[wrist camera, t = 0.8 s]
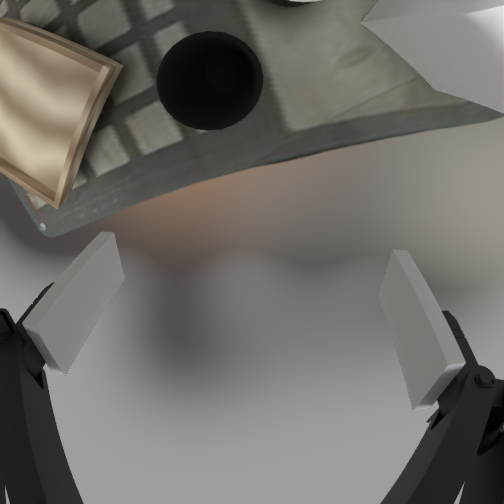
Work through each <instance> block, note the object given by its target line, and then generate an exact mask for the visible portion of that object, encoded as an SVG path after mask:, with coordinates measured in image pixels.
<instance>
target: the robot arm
mask: <svg viewBox="0 0 504 504" xmlns="http://www.w3.org/2000/svg"><path fill="white" fill-rule="evenodd" d="M124 279H125V278H124V274H123V270H122V266H121V262H120V258H119V254H118V249H117V245H116V240H115V236H114V233H113V232H101V233H100V234H99V235H98V236H97V237H96V238H95V239H94V240H93V241H92V242H91V243H90V244H89V245H88V246H87V247H86V248H85V249H84V250H83V251H82V252H81V253H80V255H79V256H78V257H77V258H76V259H75V260H74V261H73V262H72V263H71V264H70V266H69V267H68V268H67V269H66V270H65V271H64V272H63V273H62V275H61V276H60V277H59V278H58V279H57V280H56V281H55V282H53V283H51V284H50V285H49V286H47V287H46V288H44V290H43V291H42V292H41V293H40V294H39V296H38V298H36V299H35V300H34V302H33V304H31V305H30V307H29V308H28V309H27V310H26V312H25V313H24V314H23V315H22V317H21V318H20V319H19V321H18V322H17V323H16V324H15V323H14V321H13V319H12V317H11V316H10V314H9V312H8V311H7V310H6V309H3V308H1V309H0V504H6V497H5V487H6V490H7V494H8V498H9V501H10V504H84V503H83V501H82V499H81V496H80V494H79V492H78V489H77V487H76V484H75V482H74V479H73V476H72V473H71V471H70V468H69V465H68V462H67V459H66V456H65V453H64V450H63V447H62V443H61V440H60V436H59V433H58V429H57V425H56V421H55V417H54V413H53V409H52V405H51V400H50V395H49V390H48V384H47V379H46V374H45V371H44V369H43V366H44V365H45V363H46V364H47V365H48V366H49V368H50V369H51V371H52V372H54V373H57V374H60V375H63V376H66V374H67V372H68V371H69V369H70V367H71V365H72V363H73V362H74V360H75V358H76V356H77V355H78V353H79V351H80V349H81V348H82V346H83V344H84V342H85V341H86V339H87V337H88V336H89V334H90V332H91V331H92V329H93V327H94V326H95V324H96V322H97V321H98V319H99V317H100V316H101V314H102V313H103V311H104V309H105V308H106V306H107V305H108V303H109V302H110V300H111V298H112V297H113V295H114V294H115V292H116V291H117V289H118V288H119V286H120V285H121V283H122V281H123V280H124ZM378 297H379V300H380V303H381V305H382V308H383V311H384V314H385V317H386V320H387V323H388V326H389V329H390V332H391V335H392V338H393V342H394V345H395V348H396V351H397V354H398V358H399V361H400V364H401V368H402V372H403V375H404V379H405V382H406V386H407V390H408V394H409V397H410V401H411V405H412V410H413V411H415V410H422V409H428V408H430V407H431V406H432V405H433V404H434V403H435V401H436V400H437V401H438V404H439V408H438V409H437V410H436V411H435V413H434V414H433V415H432V416H431V417H430V418H429V419H428V421H427V422H428V423H429V422H430V421H431V422H430V424H429V426H428V428H427V430H426V432H425V434H424V436H423V438H422V439H421V441H420V443H419V445H418V447H417V449H416V450H415V452H414V454H413V455H412V457H411V459H410V460H409V462H408V464H407V465H406V467H405V469H404V470H403V472H402V473H401V475H400V476H399V478H398V479H397V481H396V482H395V484H394V485H393V487H392V488H391V490H390V491H389V492H388V494H387V495H386V497H385V498H384V499H383V501H382V502H381V503H380V504H454V502H455V500H456V498H457V496H458V494H459V492H460V490H461V488H462V486H463V484H464V487H463V491H462V495H461V499H460V502H459V504H504V428H503V425H504V380H500V379H495V376H494V375H493V373H492V372H491V371H490V370H489V369H488V368H486V367H484V366H481V365H478V363H477V361H476V359H475V356H474V354H473V352H472V350H471V348H470V346H469V344H468V342H467V340H466V338H465V336H464V334H463V332H462V330H461V328H460V326H459V324H458V322H457V320H456V319H455V318H454V317H453V316H452V314H451V313H449V311H441V309H440V307H439V306H438V303H437V302H436V300H435V298H434V296H433V294H432V293H431V291H430V289H429V287H428V285H427V283H426V282H425V280H424V278H423V277H422V275H421V273H420V271H419V270H418V268H417V266H416V265H415V263H414V261H413V260H412V258H411V256H410V255H409V253H408V251H406V250H392V254H391V257H390V261H389V264H388V267H387V271H386V274H385V277H384V280H383V283H382V286H381V289H380V292H379V295H378ZM464 481H465V483H464Z"/></svg>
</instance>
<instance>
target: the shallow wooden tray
mask: <svg viewBox="0 0 504 504" xmlns="http://www.w3.org/2000/svg"><path fill="white" fill-rule="evenodd" d="M123 66H124V65H122V63H121V62H119V61H117V60H115V59H113V58H111V57H105V56H103V55H101V54H99V53H97V52H95V51H93V50H91V49H88V48H86V47H84V46H82V45H79V44H77V43H75V42H73V41H70V40H68V39H66V38H63V37H61V36H58V35H56V34H54V33H51V32H49V31H46V30H43V29H41V28H38V27H37V26H36V25H34V24H31V23H28V22H22V21H19V20H16V19H13V18H10V17H1V18H0V172H1V173H3V174H4V175H6V176H7V177H9V178H10V179H12V180H13V181H15V182H16V183H18V184H19V185H21V186H22V187H24V188H25V189H27V190H28V191H30V192H31V193H33V194H34V195H36V196H37V197H39V198H40V199H42V200H44V201H45V202H47V203H48V204H50V205H51V206H53V207H55V208H56V209H59V208H60V207H61V206H62V204H63V203H64V202H65V201H66V200H67V199H68V198H69V197H70V194H71V191H72V188H73V184H74V181H75V178H76V175H77V172H78V169H79V166H80V164H81V162H82V160H83V157H84V154H85V149H86V147H87V144H88V141H89V139H90V136H91V134H92V131H93V129H94V126H95V124H96V122H97V119H98V117H99V115H100V112H101V110H102V108H103V106H104V104H105V101H106V99H107V97H108V95H109V93H110V91H111V89H112V87H113V85H114V84H115V82H116V81H117V79H118V77H119V75H120V72H121V69H122V67H123Z"/></svg>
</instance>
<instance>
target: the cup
mask: <svg viewBox="0 0 504 504" xmlns="http://www.w3.org/2000/svg"><path fill="white" fill-rule="evenodd" d="M262 87H263V73H262V69H261V64H260V62H259V60H258V58H257V56H256V55H255V53H254V52H253V50H252V49H251V48H250V47H249V46H248V45H247V44H246V43H245V42H243V41H241V40H240V39H238V38H237V37H235V36H232V35H229V34H226V33H223V32H213V31H207V32H201V33H195V34H193V35H190V36H188V37H186V38H183V39H182V40H180V41H179V42H178V43H176V44H175V45H174V46H172V48H171V49H170V50H169V51H168V52H167V53H166V55H165V56H164V58H163V60H162V62H161V64H160V66H159V70H158V75H157V91H158V94H159V97H160V100H161V102H162V104H163V106H164V107H165V109H166V111H167V112H168V113H169V114H170V115H171V116H172V117H173V118H174V119H176V120H177V121H179V122H180V123H182V124H184V125H186V126H189V127H191V128H194V129H199V130H208V131H209V130H218V129H223V128H226V127H229V126H232V125H234V124H236V123H237V122H239V121H241V120H242V119H244V118H245V117H246V116H247V115H248V114H249V113H250V112H251V111H252V110H253V108H254V106H255V105H256V103H257V102H258V100H259V97H260V94H261V91H262Z"/></svg>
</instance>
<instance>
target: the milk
mask: <svg viewBox="0 0 504 504" xmlns="http://www.w3.org/2000/svg"><path fill="white" fill-rule="evenodd" d="M360 23H361V24H362V25H364V26H365V27H366V28H368V29H369V30H370V31H371V32H373V33H374V34H375V35H376V36H378V37H379V38H380V39H381V40H383V41H384V42H385V43H386V44H387V45H388V46H390V47H391V48H392V49H393V50H394V51H395V52H396V53H398V54H399V55H400V56H401V57H402V58H403V59H404V60H405V61H406V62H407V63H408V64H409V65H411V66H412V67H413V68H414V69H415V70H416V71H417V72H418V73H419V74H420V75H421V76H422V77H423V78H424V79H425V80H426V81H427V82H428V83H429V84H430V86H431V87H432V88H433V89H434V90H436V91H440V92H443V93H447V94H450V95H454V96H457V97H460V98H463V99H466V100H469V101H472V102H475V103H478V104H481V105H483V106H486V107H489V108H491V109H494V110H496V111H499V112H501V113H504V0H378V2H377V3H376V4H375V5H374V6H373V8H372V9H371V10H370V11H369V13H368V14H367V15H366V16H365V17H364V19H363V20H362V21H361V22H360Z"/></svg>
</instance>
